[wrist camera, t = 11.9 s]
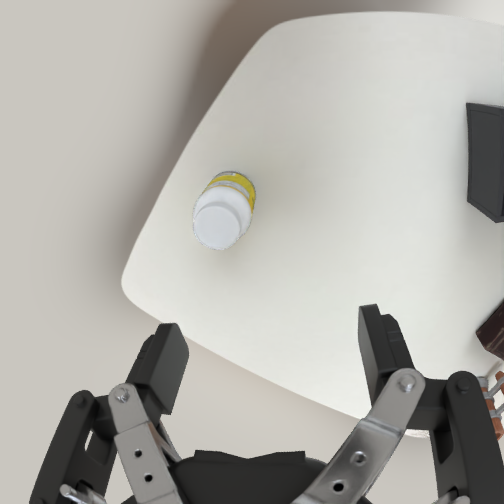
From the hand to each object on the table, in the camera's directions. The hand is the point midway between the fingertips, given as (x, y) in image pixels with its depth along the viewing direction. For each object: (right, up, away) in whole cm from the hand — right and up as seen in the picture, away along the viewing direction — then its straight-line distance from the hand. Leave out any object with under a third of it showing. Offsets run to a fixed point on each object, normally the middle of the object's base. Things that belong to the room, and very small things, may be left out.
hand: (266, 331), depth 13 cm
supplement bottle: (-3, +10, +21) cm, 23 cm away
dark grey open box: (+33, +16, +14) cm, 39 cm away
